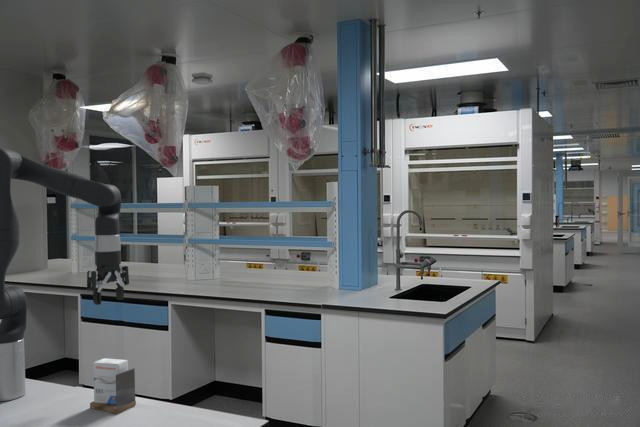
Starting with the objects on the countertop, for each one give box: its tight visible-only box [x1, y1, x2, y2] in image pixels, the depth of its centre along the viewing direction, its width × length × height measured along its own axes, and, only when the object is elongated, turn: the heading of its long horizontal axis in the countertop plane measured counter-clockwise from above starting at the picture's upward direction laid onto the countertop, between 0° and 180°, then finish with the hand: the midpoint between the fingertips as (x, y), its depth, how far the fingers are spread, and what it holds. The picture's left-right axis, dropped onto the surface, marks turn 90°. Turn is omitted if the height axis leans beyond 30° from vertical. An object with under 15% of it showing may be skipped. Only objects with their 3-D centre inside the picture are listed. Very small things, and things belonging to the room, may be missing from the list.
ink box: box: [92, 357, 129, 405], centre depth 160 cm, size 8×5×12 cm, turn 75°
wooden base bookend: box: [89, 367, 137, 415], centre depth 160 cm, size 11×7×11 cm, turn 63°
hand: (109, 301), depth 171 cm, fingers open, 8 cm apart
